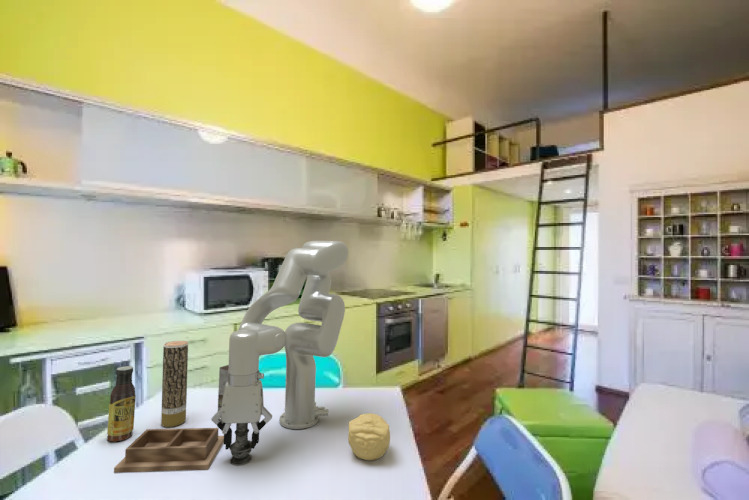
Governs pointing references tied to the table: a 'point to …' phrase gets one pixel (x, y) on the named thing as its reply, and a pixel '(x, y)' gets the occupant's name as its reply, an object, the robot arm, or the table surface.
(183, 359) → the paper tube
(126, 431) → the sauce bottle
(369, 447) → the sculpture
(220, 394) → the coffee box
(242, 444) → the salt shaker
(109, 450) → the table surface
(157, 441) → the condiment rack
